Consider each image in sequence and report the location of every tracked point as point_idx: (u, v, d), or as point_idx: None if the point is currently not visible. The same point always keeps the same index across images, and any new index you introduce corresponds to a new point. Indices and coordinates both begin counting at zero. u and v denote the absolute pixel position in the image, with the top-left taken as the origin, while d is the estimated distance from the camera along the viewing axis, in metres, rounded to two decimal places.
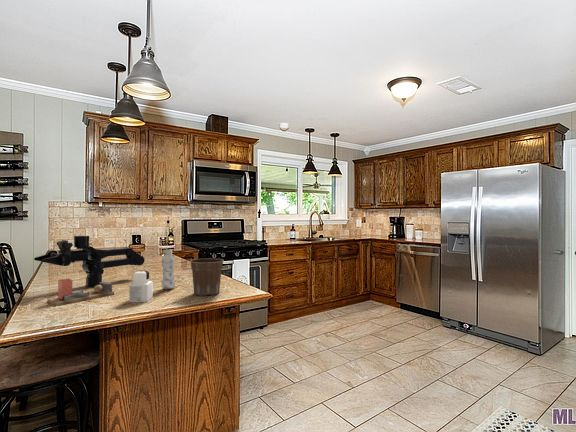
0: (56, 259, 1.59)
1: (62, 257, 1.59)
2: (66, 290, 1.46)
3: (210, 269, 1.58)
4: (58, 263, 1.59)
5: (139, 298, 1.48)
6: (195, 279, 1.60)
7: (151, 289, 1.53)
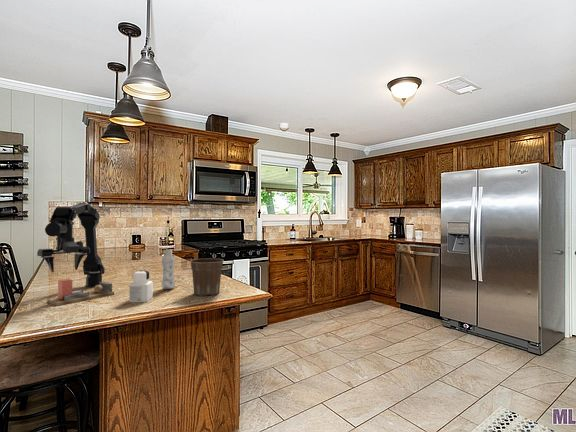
0: None
1: None
2: (66, 290, 1.46)
3: (210, 269, 1.58)
4: None
5: (139, 298, 1.48)
6: (195, 279, 1.60)
7: (151, 289, 1.53)
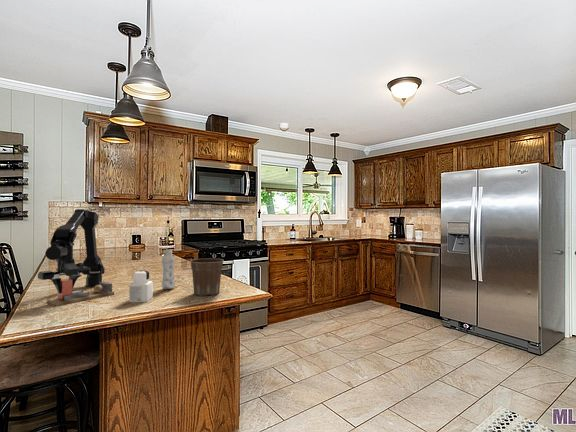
0: None
1: None
2: (66, 290, 1.46)
3: (210, 269, 1.58)
4: None
5: (139, 298, 1.48)
6: (195, 279, 1.60)
7: (151, 289, 1.53)
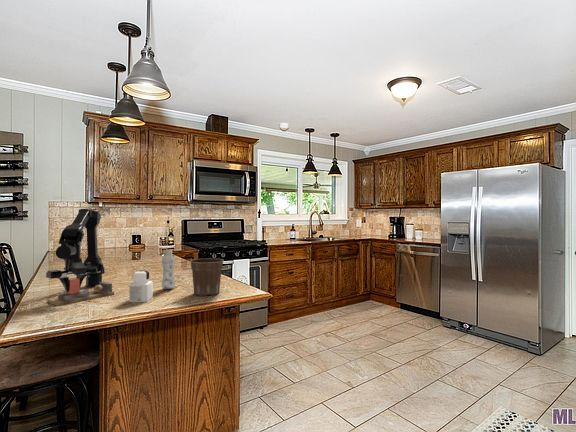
0: None
1: None
2: (73, 289, 1.48)
3: (210, 269, 1.58)
4: None
5: (139, 298, 1.48)
6: (195, 279, 1.60)
7: (151, 289, 1.53)
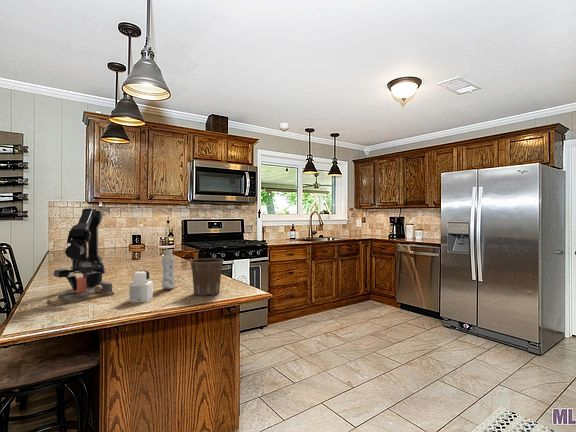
0: None
1: None
2: (80, 288, 1.51)
3: (210, 269, 1.58)
4: None
5: (139, 298, 1.48)
6: (195, 279, 1.60)
7: (151, 289, 1.53)
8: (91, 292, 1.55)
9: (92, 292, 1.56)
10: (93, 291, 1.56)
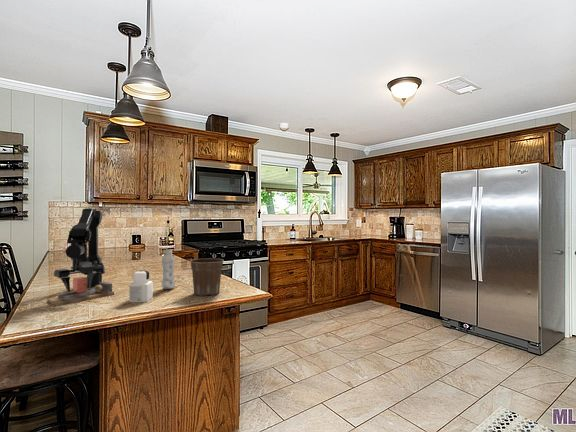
0: None
1: None
2: (80, 288, 1.51)
3: (210, 269, 1.58)
4: None
5: (139, 298, 1.48)
6: (195, 279, 1.60)
7: (151, 289, 1.53)
8: (91, 292, 1.55)
9: (92, 292, 1.56)
10: (93, 291, 1.56)
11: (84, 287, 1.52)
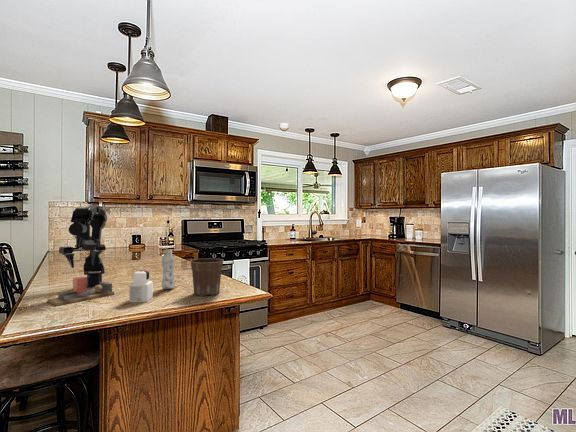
0: None
1: None
2: (80, 288, 1.51)
3: (210, 269, 1.58)
4: None
5: (139, 298, 1.48)
6: (195, 279, 1.60)
7: (151, 289, 1.53)
8: (91, 292, 1.55)
9: (92, 292, 1.56)
10: (93, 291, 1.56)
11: (84, 287, 1.52)
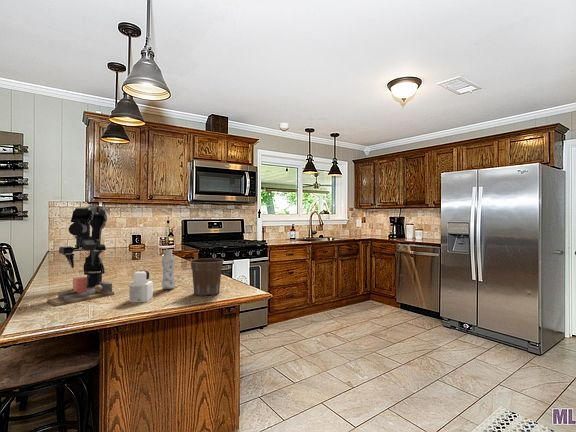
0: None
1: None
2: (80, 288, 1.51)
3: (210, 269, 1.58)
4: None
5: (139, 298, 1.48)
6: (195, 279, 1.60)
7: (151, 289, 1.53)
8: (91, 292, 1.55)
9: (92, 292, 1.56)
10: (93, 291, 1.56)
11: (84, 287, 1.52)
